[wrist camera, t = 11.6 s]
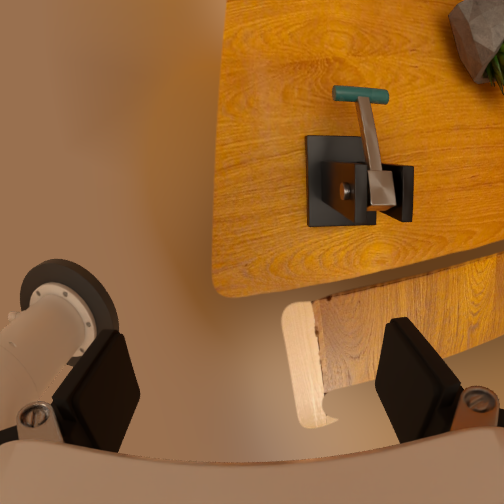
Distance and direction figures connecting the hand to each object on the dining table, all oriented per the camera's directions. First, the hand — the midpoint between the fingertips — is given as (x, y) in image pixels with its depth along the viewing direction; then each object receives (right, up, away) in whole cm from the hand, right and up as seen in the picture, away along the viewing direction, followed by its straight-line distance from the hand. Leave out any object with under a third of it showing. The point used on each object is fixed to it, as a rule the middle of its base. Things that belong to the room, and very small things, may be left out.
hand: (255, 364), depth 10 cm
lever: (+10, +13, +15) cm, 22 cm away
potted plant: (+31, +31, +18) cm, 47 cm away
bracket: (+10, +12, +24) cm, 28 cm away
